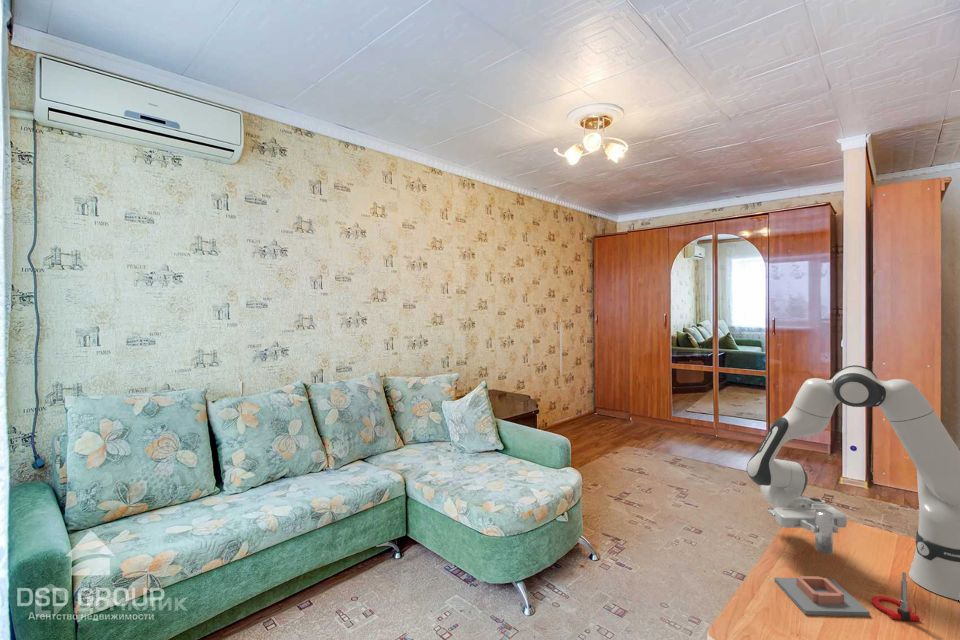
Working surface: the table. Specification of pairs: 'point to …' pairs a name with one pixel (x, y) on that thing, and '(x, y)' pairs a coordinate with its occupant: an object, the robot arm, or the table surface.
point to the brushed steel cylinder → (824, 531)
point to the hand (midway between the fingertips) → (826, 530)
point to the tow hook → (904, 610)
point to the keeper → (820, 596)
